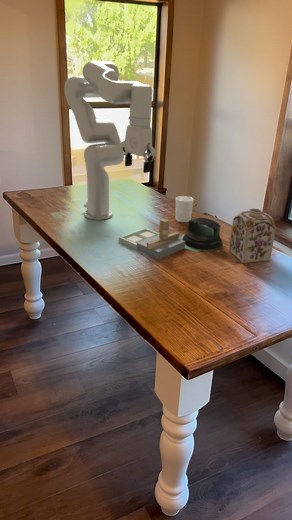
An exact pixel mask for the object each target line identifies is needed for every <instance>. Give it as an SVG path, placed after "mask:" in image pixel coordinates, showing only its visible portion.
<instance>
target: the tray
mask: <svg viewBox="0 0 292 520" xmlns="http://www.w3.org/2000/svg"><path fill="white" fill-rule="evenodd" d="M144 232H150V233H153V234H155V236H157V235H159V231H158V232H157V231H154V230H153V229H152V230H151V229H150V228H147V227H143V228H141V229H138V230H134V231H132V232H130V233H127V234H124V235H120V236H119V237H118V243H120V244H122V245H123V246H126V247H128V248H131V249H133V250H135V251H137V244H136V243H134V242H132V241H129V240H127V239H126V238H129V237H132V236H137V237H139V234H141V233H144ZM143 240H144V239H143Z"/></svg>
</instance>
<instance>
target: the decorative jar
mask: <svg viewBox="0 0 292 520" xmlns="http://www.w3.org/2000/svg"><path fill="white" fill-rule="evenodd" d="M232 220H233V221H232V224H231V225H232V226H231V232H230V239H229V247H228V250H229V252H230V253H232V255H233V256H235V257H236V259H237V260H238V261H239V262H241V263H242V264H245V263H248V264H249V263H257V262H259V263H260V262H269V261H271V257H272V252H273V246H274V241H275V237H276V236H275V234H276V229H277V227H276V223H275V222H274V218H273V217H272V216H271V215H270V214H268V213H266V212H263V210H262V209H259V208H249V210H244V211H242V212H240V213H238V214H237V215H235V216H234V217H233V219H232Z"/></svg>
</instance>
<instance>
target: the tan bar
mask: <svg viewBox="0 0 292 520" xmlns="http://www.w3.org/2000/svg"><path fill="white" fill-rule="evenodd" d="M169 229H170V220H169V219H167V218H161V219H159V229H158V233H159V238H158V239H156V240H153V241H150V242H147V248H149V249H151V248H154V247H157V246H159V245H162V244H164V243H167V242H170V241H172V240H175V239H178V238H179V237H180V232H178V231H176V232H172V233H170V234H169V232H170V231H169Z"/></svg>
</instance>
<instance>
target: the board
mask: <svg viewBox="0 0 292 520" xmlns="http://www.w3.org/2000/svg"><path fill="white" fill-rule="evenodd" d="M158 238H159V235H157V236H154V237H151V238H149V239H146V240H143V241H141V242H138V243H137V250H136V251H137V252H140V253H143V254H145V255H146V256H149V257H150V258H151V257H152V258H153V259H156V260H162V259H163V258H166V257H169V256H170V255H173V254H174V253H177V252H179V251H182V250H184V249H186V248H185V241H184V240H181V239H175V240H172V241H170V242H167V243H164V244H162V245H159V246H157V247H154V248H151V249H149V248H147V242H150V241H153V240H156V239H158Z"/></svg>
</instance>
